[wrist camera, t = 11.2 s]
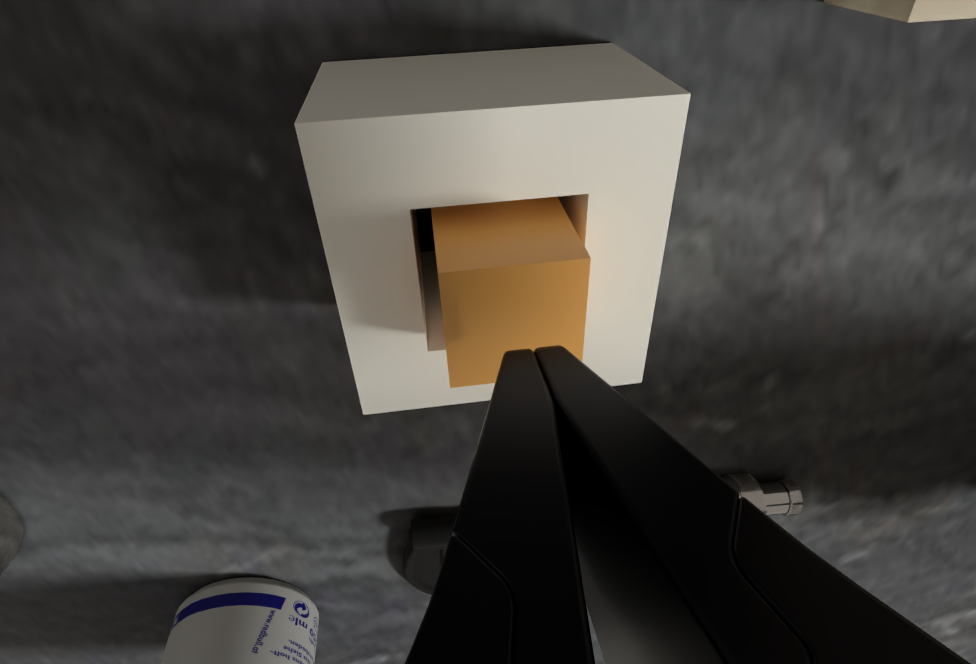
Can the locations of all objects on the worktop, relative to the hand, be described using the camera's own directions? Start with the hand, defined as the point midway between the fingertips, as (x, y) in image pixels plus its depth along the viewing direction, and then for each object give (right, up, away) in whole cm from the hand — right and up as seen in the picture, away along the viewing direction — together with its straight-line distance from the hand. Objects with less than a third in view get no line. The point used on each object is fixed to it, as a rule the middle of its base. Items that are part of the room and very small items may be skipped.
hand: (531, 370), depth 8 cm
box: (-1, +4, +5) cm, 7 cm away
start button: (-1, +2, +3) cm, 4 cm away
